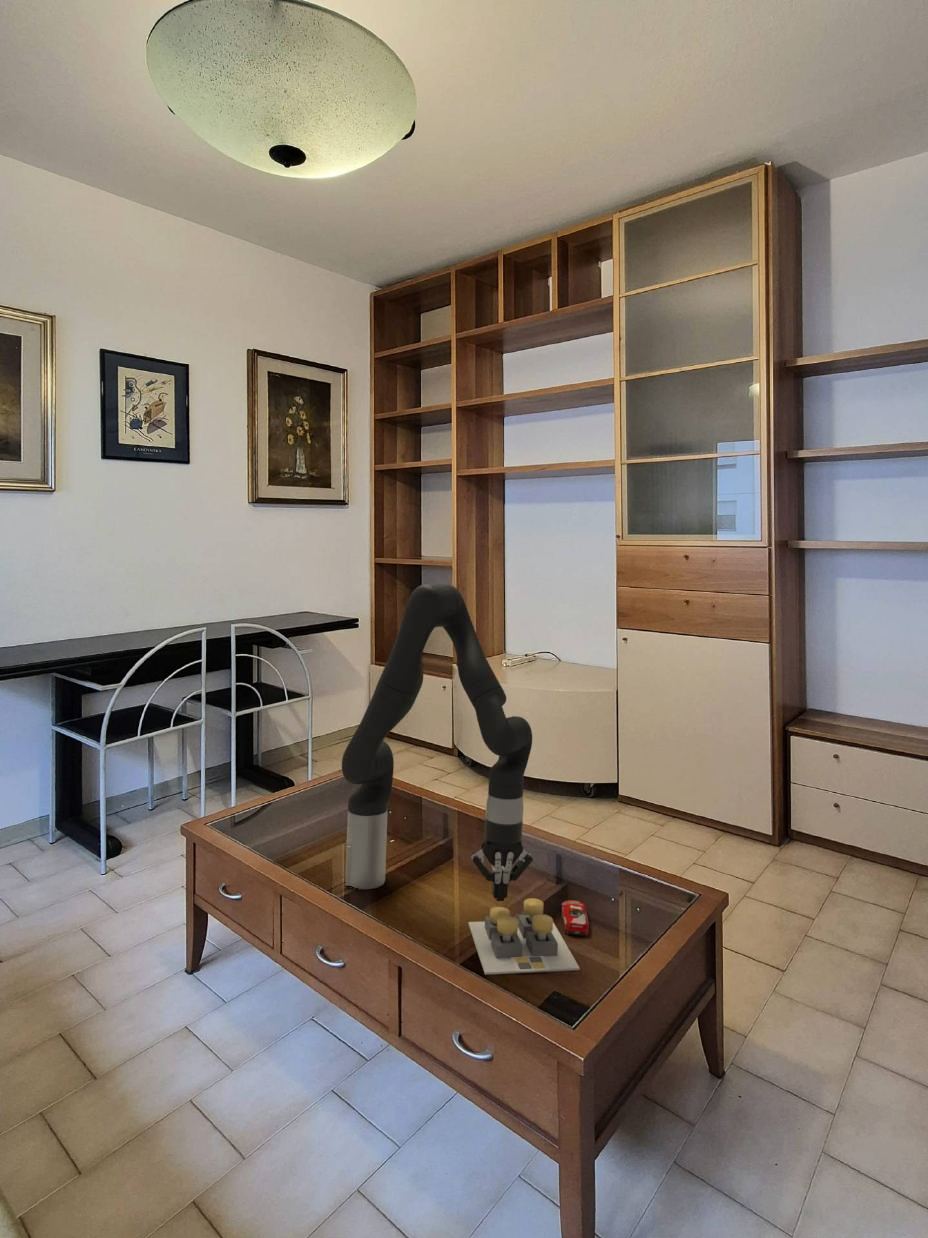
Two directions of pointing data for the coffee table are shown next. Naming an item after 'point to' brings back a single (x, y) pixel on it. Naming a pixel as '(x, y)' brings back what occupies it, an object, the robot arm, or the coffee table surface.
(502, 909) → the button back left
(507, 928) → the button front left
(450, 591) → the robot arm
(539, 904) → the button back right
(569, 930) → the race car
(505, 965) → the board
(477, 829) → the coffee table surface
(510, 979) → the coffee table surface
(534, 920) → the button front right
